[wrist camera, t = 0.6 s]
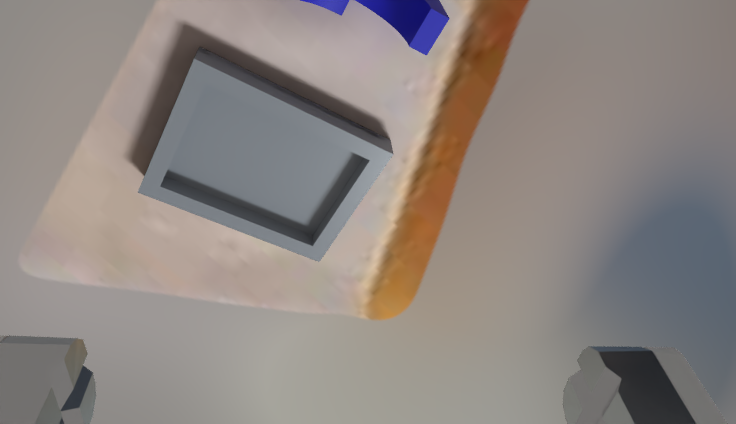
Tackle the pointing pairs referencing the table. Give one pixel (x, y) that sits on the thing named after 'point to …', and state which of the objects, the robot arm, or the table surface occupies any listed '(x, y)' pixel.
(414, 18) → the blue angular stepped piece
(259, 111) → the tray
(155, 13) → the table surface
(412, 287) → the table surface
